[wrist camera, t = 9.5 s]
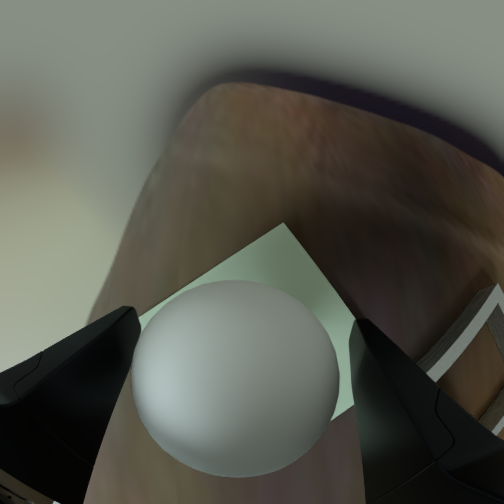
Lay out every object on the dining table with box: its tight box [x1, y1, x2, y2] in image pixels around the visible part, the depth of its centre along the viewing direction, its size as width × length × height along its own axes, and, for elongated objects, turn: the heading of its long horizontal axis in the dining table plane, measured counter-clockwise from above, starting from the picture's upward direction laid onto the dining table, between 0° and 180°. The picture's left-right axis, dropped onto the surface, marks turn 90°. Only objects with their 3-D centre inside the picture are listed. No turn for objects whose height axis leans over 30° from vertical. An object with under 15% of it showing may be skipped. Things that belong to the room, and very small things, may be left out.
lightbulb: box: [131, 280, 340, 478], centre depth 10 cm, size 6×6×11 cm
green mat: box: [139, 223, 355, 421], centre depth 15 cm, size 12×12×1 cm
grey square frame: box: [416, 283, 504, 436], centre depth 12 cm, size 10×10×2 cm
